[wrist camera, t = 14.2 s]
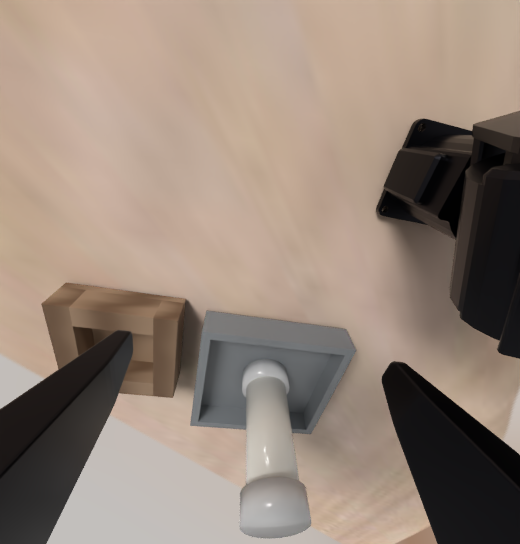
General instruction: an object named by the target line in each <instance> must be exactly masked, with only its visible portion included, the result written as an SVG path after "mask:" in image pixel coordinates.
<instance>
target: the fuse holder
mask: <svg viewBox="0 0 520 544" xmlns="http://www.w3.org/2000/svg"><path fill="white" fill-rule="evenodd" d="M42 308H43V312H44V315H45V319H46V323H47V327H48V331H49V334H50V338H51V342H52V346H53V350H54V353H55V357H56V361H57V365H58V369H60V368H62V367H63V366H65V365H66V364H68V363H69V362H71V361H72V360H74V359H75V358H76V357H78V356H79V355H81V354H82V353H84V352H85V351H87V350H88V349H90V348H91V347H93V346H94V345H96V344H97V343H99V342H100V341H101V340H103V339H104V338H106V337H107V336H109V335H110V334H112V333H113V332H115V331H117V330H126V331H131V332H132V336H133V354H132V358H131V361H130V363H129V366H128V369H127V372H126V374H125V377H124V380H123V383H122V385H121V388H120V391H119V393H122V394H134V395H146V396H158V397H170V398H173V396H174V392H175V388H176V385H177V381H178V377H179V374H180V364H181V351H182V338H183V325H184V312H185V299H181V298H174V297H166V296H159V295H152V294H145V293H137V292H130V291H123V290H115V289H108V288H101V287H94V286H86V285H79V284H72V283H65V284H64V285H63V286H62V287H61V288H59V289H58V290H57V291H56V292H55V293H54V294H53V295H51V296H50V297H49V298H48V299H47V300H46V301H44V302H43V303H42Z"/></svg>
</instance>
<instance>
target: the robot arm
mask: <svg viewBox="0 0 520 544" xmlns="http://www.w3.org/2000/svg"><path fill="white" fill-rule="evenodd" d="M420 124H422V129H421V130H420V131H418V127H419V125H420ZM384 188H385V189H384V191H383V193H382V196H381V198H380V200H379V203H378V205H377V208H376V211H377V213H378V214H380V215H382V216H386V217H391V218H396V219H401V220H406V221H411V222H416V223H421V224H426V225H430V226H431V227H433V228H435V229H437V230H439V231H441V232H442V233H444V234H446V235H448V236H450V237H451V238H453V239H455V240H456V245H455V252H454V259H453V267H452V274H451V282H450V298H451V300H452V301H453V303H454V305H455V306H456V308H457V309H458V310H459V311H460V318H461V319H462V320H464V321H465V322H466V323H468V324H469V325H470V326H472V327H473V328H475V329H477V330H479V331H480V332H482V333H484V334H486V335H488V336H490V337H492V338H494V339H497V340H499V341H500V342H499V345H498V348H497V350H498V352H499V353H501V354H503V355H507V356H511V357H515V358H520V111H518V112H514V113H511V114H507V115H504V116H500V117H497V118H493V119H490V120H486V121H483V122H479V123H476V124H473V130H472V131H469V130H466V129H462V128H458V127H454V126H451V125H447V124H443V123H439V122H436V121H432V120H428V119H418V120H416V121H415V122H414V123H413V125H412V126H411V129H410V131H409V133H408V136H407V138H406V140H405V142H404V145H403V147H402V149H401V150H400V151H399V152H398V154H397V156H396V159H395V161H394V163H393V166H392V168H391V170H390V173H389V175H388V177H387V180H386V182H385V184H384ZM384 206H386V209H385V210H384V211H382V208H383V207H384ZM132 354H133V336H132V332H131V331H126V330H117V331H115V332H113V333H112V334H110V335H109V336H107V337H106V338H104V339H103V340H101V341H100V342H99V343H97V344H96V345H94V346H93V347H91V348H90V349H88V350H87V351H85V352H84V353H82V354H81V355H79V356H78V357H76V358H75V359H74V360H72V361H71V362H69V363H68V364H66V365H65V366H63V367H62V368H60V369H59V370H57V371H56V372H54V373H53V374H51V375H50V376H49V377H47V378H46V379H44V380H43V381H41V382H40V383H38V384H37V385H35V386H34V387H33V388H31V389H29V390H28V391H27V392H25V393H23V394H22V395H21V396H19V397H18V398H16V399H15V400H13V401H12V402H10V403H9V404H7V405H6V406H4V407H3V408H1V409H0V544H46V543H47V541H48V539H49V537H50V535H51V533H52V531H53V529H54V527H55V525H56V523H57V521H58V519H59V517H60V514H61V513H62V510H63V509H64V506H65V504H66V502H67V500H68V498H69V496H70V494H71V492H72V490H73V488H74V486H75V484H76V482H77V480H78V478H79V476H80V474H81V472H82V470H83V468H84V466H85V463H86V462H87V460H88V457H89V456H90V454H91V451H92V449H93V447H94V445H95V443H96V441H97V439H98V437H99V435H100V433H101V431H102V429H103V427H104V425H105V423H106V421H107V419H108V417H109V415H110V413H111V411H112V408H113V406H114V404H115V401H116V399H117V396H118V394H119V391H120V388H121V385H122V383H123V380H124V377H125V374H126V372H127V369H128V366H129V363H130V361H131V358H132ZM382 384H383V388H384V392H385V395H386V399H387V403H388V406H389V410H390V414H391V417H392V421H393V424H394V427H395V430H396V433H397V436H398V438H399V441H400V444H401V447H402V449H403V452H404V455H405V457H406V460H407V463H408V465H409V468H410V471H411V473H412V476H413V479H414V482H415V484H416V487H417V490H418V492H419V495H420V498H421V500H422V503H423V506H424V509H425V511H426V514H427V517H428V519H429V522H430V525H431V527H432V530H433V533H434V535H435V538H436V541H437V543H438V544H520V455H519V454H518V453H517V452H516V451H515V450H513V449H512V448H511V447H509V446H508V445H507V444H506V443H505V442H503V441H502V440H501V439H500V438H498V437H497V436H496V435H495V434H493V433H492V432H491V431H490V430H488V429H487V428H486V427H485V426H483V425H482V424H481V423H480V422H478V421H477V420H476V419H475V418H473V417H472V416H471V415H470V414H468V413H467V412H466V411H464V410H463V409H462V408H461V407H459V406H458V405H457V404H456V403H454V402H453V401H452V400H451V399H449V398H448V397H447V396H446V395H444V394H443V393H442V392H441V391H439V390H438V389H437V388H436V387H434V386H433V385H432V384H431V383H429V382H428V381H427V380H426V379H424V378H423V377H422V376H421V375H419V374H418V373H417V372H416V371H414V370H413V369H412V368H411V367H409V366H408V365H407V364H405V363H403V362H396V361H394V362H391V363H390V365H389V366H388V368H387V369H386V371H385V373H384V374H383V376H382Z"/></svg>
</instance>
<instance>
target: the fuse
mask: <svg viewBox="0 0 520 544" xmlns="http://www.w3.org/2000/svg"><path fill="white" fill-rule="evenodd" d="M242 392H243V395H244V396H245V397H246V486H244V487H243V488H242V490H241V493H240V530H241V531H242V532H243V533H244V534H246V535H249V536H252V537H257V538H282V537H288V536H292V535H295V534H298V533H301V532H303V531H305V530H306V529H307V528H309V527H310V525H311V517H310V511H309V505H308V498H307V492H306V487H305V485H304V484H303V483H302V482H300V481H299V476H298V469H297V462H296V456H295V449H294V442H293V435H292V428H291V422H290V415H289V408H288V401H287V394H288V392H289V381H288V375H287V370H286V368H285V366H284V365H283V364H282V363H280V362H279V361H276V360H273V359H260V360H256V361H253V362H251V363H250V364H248V365H247V366H246V367H245V369H244V370H243V375H242Z"/></svg>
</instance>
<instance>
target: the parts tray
mask: <svg viewBox="0 0 520 544" xmlns="http://www.w3.org/2000/svg"><path fill="white" fill-rule="evenodd" d="M355 352H356V349H355V347H354V344H353V342H352V340H351V338H350V336H349V334H348V332H347V330H346V329H341V328H334V327H326V326H318V325H311V324H303V323H296V322H288V321H281V320H273V319H266V318H258V317H251V316H243V315H235V314H228V313H220V312H213V311H206V316H205V320H204V325H203V329H202V336H201V344H200V352H199V360H198V368H197V376H196V384H195V392H194V400H193V408H192V416H191V424H190V426H203V427H217V428H231V429H245V430H246V397H245V396H244V395H243V392H242V375H243V370H244V369H245V367H246V366H247V365H248V364H250V363H251V362H253V361H256V360H260V359H273V360H276V361H279V362H280V363H282V364H283V365H284V366H285V368H286V370H287V375H288V381H289V392H288V394H287V401H288V408H289V415H290V422H291V428H292V433H302V434H311V433H312V431H313V429H314V427H315V426H316V424H317V422H318V420H319V418H320V416H321V415H322V413H323V411H324V409H325V407H326V405H327V403H328V402H329V400H330V398H331V396H332V394H333V392H334V391H335V389H336V387H337V385H338V383H339V381H340V379H341V378H342V376H343V374H344V372H345V370H346V368H347V367H348V365H349V363H350V361H351V359H352V357H353V356H354V354H355Z"/></svg>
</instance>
